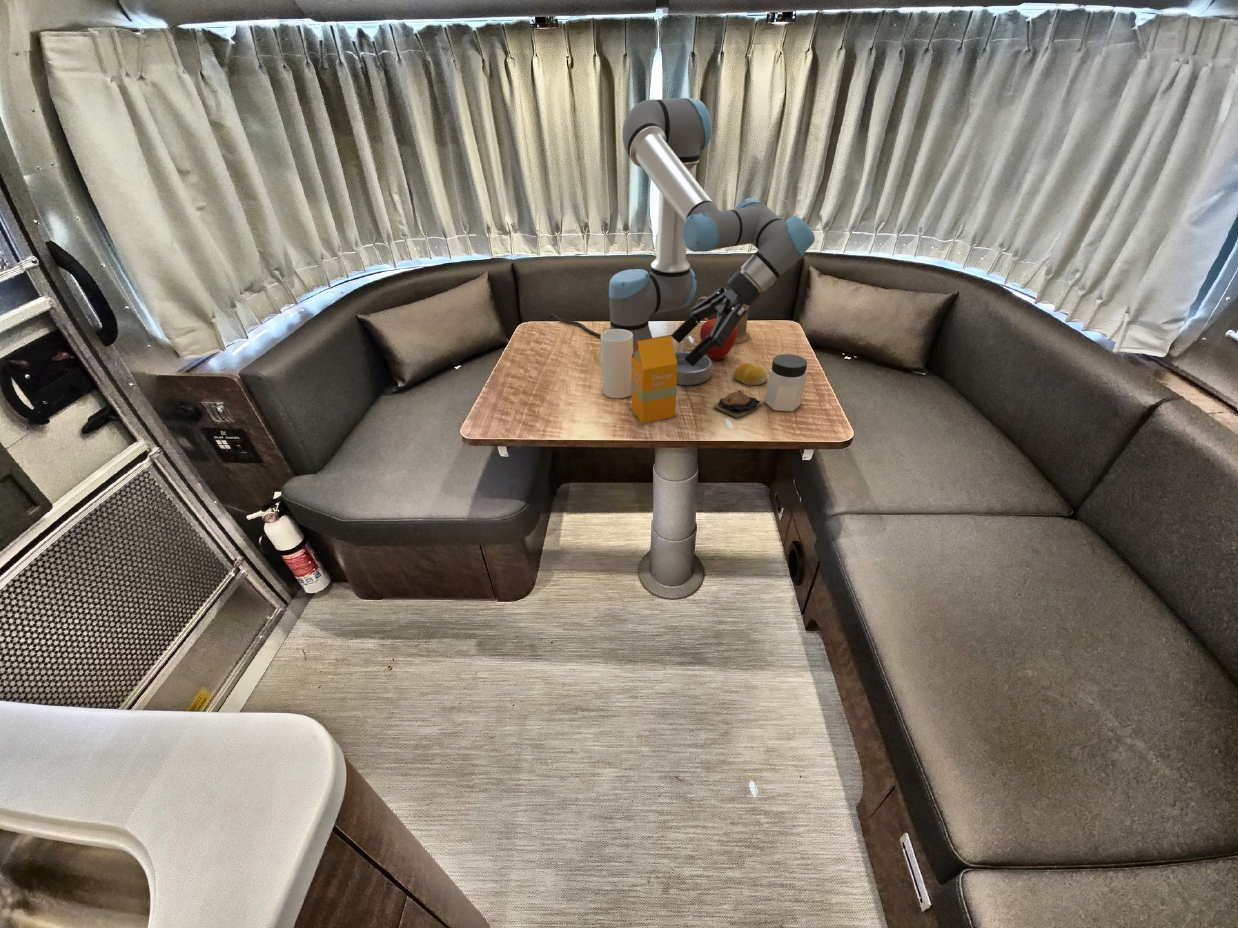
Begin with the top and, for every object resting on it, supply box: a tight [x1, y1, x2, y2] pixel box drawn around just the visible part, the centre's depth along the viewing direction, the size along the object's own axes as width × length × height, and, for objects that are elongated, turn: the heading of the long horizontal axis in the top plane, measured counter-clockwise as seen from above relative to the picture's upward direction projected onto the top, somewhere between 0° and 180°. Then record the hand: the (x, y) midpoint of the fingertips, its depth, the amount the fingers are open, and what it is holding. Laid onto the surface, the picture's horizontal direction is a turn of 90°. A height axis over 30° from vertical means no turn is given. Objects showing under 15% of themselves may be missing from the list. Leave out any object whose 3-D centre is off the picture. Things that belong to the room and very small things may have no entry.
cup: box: [600, 329, 633, 399], centre depth 140 cm, size 8×8×16 cm
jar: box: [764, 353, 808, 412], centre depth 133 cm, size 9×8×12 cm
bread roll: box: [732, 362, 768, 386], centre depth 147 cm, size 8×9×4 cm
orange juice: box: [631, 334, 678, 424], centre depth 129 cm, size 8×9×20 cm
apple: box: [699, 317, 738, 361], centre depth 157 cm, size 11×11×12 cm
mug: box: [695, 296, 750, 345], centre depth 171 cm, size 12×18×12 cm, turn 67°
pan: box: [675, 351, 713, 386], centre depth 150 cm, size 14×14×4 cm
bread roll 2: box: [714, 390, 762, 419], centre depth 135 cm, size 11×8×4 cm
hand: (681, 350), depth 125 cm, fingers open, 13 cm apart
